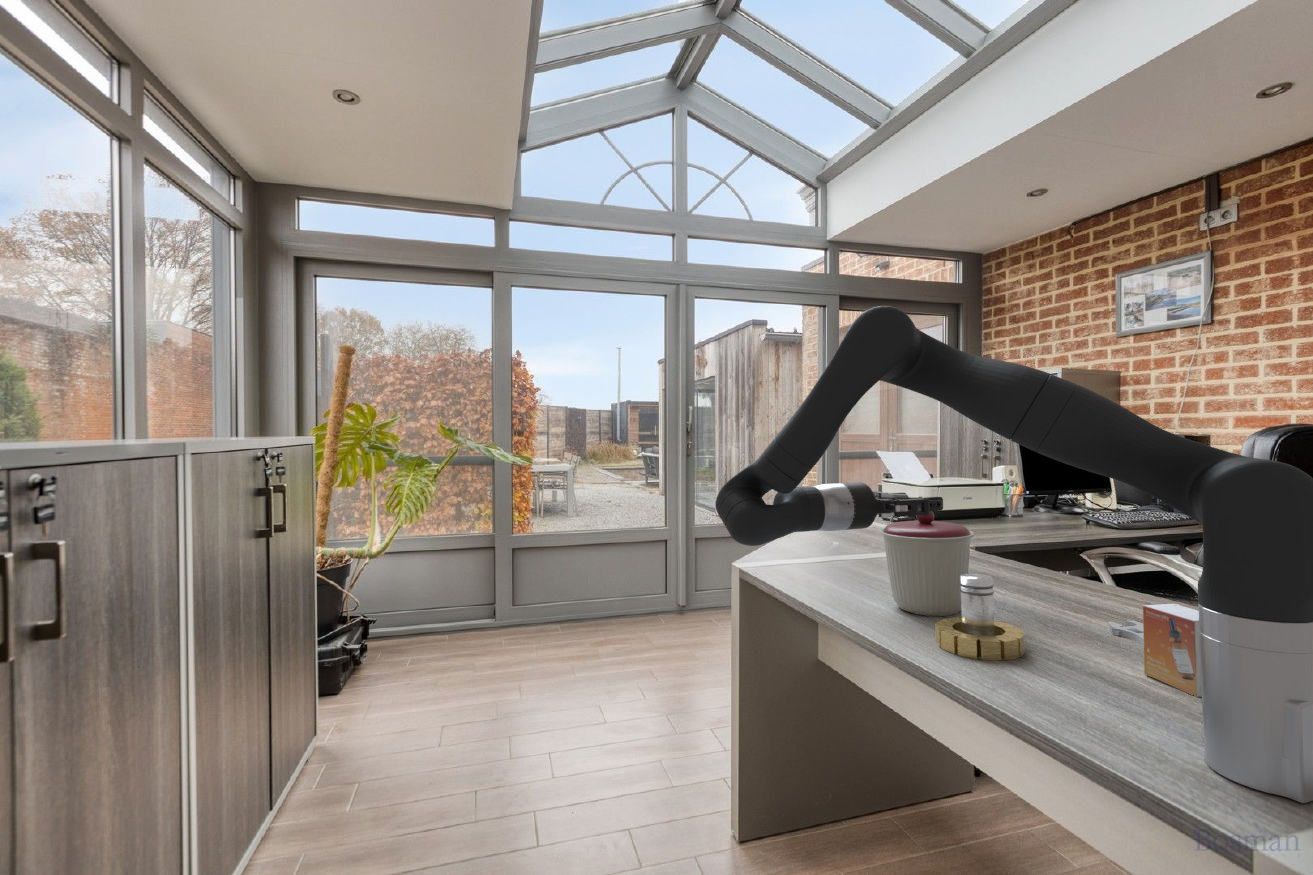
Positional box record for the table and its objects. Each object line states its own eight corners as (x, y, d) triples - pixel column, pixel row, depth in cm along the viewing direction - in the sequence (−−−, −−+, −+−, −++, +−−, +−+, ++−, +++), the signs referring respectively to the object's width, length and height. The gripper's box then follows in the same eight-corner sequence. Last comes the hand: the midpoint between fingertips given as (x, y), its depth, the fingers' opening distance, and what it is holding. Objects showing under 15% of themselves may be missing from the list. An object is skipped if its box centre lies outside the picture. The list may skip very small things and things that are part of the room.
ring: (1043, 653, 99) (1042, 635, 99) (979, 664, 95) (978, 645, 95) (978, 630, 112) (977, 614, 112) (920, 639, 108) (919, 622, 108)
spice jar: (1002, 649, 101) (1000, 578, 102) (979, 653, 100) (976, 581, 100) (978, 639, 106) (976, 572, 106) (955, 643, 105) (952, 575, 105)
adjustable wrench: (1215, 684, 86) (1215, 672, 86) (1161, 680, 89) (1160, 668, 89) (1143, 630, 110) (1143, 620, 110) (1102, 627, 112) (1101, 618, 112)
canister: (874, 597, 136) (871, 505, 136) (959, 598, 133) (955, 504, 133) (893, 622, 118) (889, 515, 118) (992, 623, 115) (987, 514, 116)
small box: (1143, 675, 89) (1140, 604, 89) (1177, 672, 90) (1174, 602, 90) (1196, 698, 81) (1193, 620, 81) (1234, 694, 82) (1231, 617, 82)
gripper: (865, 486, 89) (954, 481, 93) (813, 480, 102) (893, 476, 107) (866, 536, 89) (955, 529, 93) (815, 524, 102) (895, 518, 107)
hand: (922, 501), depth 100 cm, fingers open, 8 cm apart
